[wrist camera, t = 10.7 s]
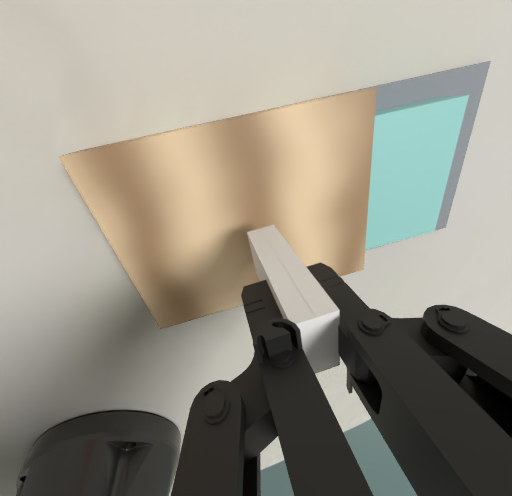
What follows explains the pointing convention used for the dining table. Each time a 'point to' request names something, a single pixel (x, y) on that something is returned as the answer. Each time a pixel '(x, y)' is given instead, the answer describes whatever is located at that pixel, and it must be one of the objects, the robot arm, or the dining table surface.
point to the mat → (437, 86)
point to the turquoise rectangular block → (411, 167)
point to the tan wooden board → (232, 199)
